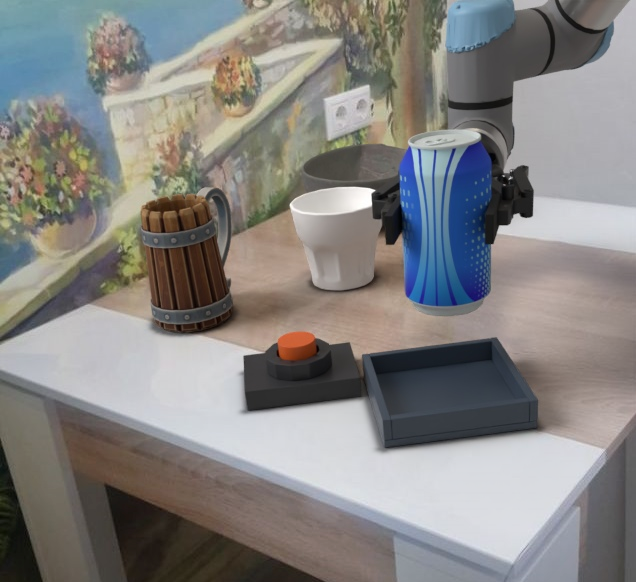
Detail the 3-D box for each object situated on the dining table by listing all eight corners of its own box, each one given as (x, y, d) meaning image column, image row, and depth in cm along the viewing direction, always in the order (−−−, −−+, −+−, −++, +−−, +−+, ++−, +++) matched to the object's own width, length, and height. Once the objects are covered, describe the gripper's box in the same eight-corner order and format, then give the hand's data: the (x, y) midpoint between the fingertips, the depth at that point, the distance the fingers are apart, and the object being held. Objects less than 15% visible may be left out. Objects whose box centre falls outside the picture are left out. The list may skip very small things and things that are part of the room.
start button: (315, 343, 95) (313, 329, 94) (318, 359, 92) (316, 344, 91) (278, 348, 95) (276, 333, 94) (280, 364, 92) (278, 349, 91)
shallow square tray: (496, 362, 95) (497, 336, 94) (537, 428, 83) (538, 400, 81) (363, 379, 95) (361, 354, 94) (384, 447, 83) (382, 420, 81)
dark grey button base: (351, 359, 99) (348, 327, 97) (361, 396, 92) (359, 361, 90) (246, 372, 99) (240, 340, 97) (247, 410, 91) (242, 376, 89)
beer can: (417, 285, 93) (411, 128, 84) (497, 288, 90) (499, 125, 82) (395, 317, 86) (386, 150, 78) (481, 321, 83) (481, 148, 75)
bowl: (286, 239, 139) (278, 175, 134) (334, 201, 155) (329, 142, 149) (408, 244, 131) (405, 176, 126) (445, 203, 147) (444, 142, 142)
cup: (367, 257, 128) (362, 181, 122) (403, 284, 118) (399, 201, 112) (286, 275, 125) (277, 197, 119) (316, 303, 115) (307, 220, 109)
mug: (203, 338, 108) (182, 218, 101) (137, 328, 113) (112, 213, 106) (269, 292, 120) (255, 181, 112) (207, 285, 125) (188, 178, 117)
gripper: (566, 196, 97) (557, 270, 78) (378, 200, 103) (329, 269, 84) (570, 125, 93) (561, 185, 75) (374, 133, 99) (321, 191, 80)
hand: (438, 230), depth 79 cm, fingers closed on beer can, 8 cm apart
